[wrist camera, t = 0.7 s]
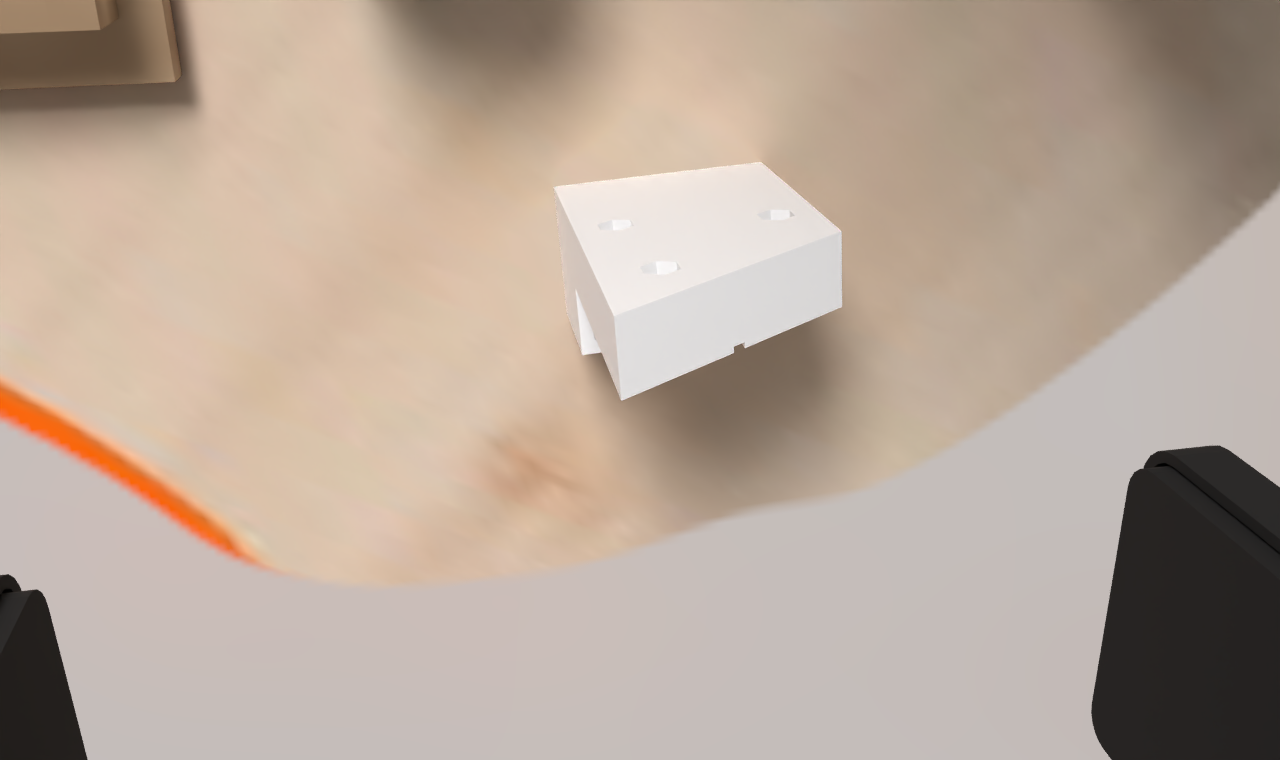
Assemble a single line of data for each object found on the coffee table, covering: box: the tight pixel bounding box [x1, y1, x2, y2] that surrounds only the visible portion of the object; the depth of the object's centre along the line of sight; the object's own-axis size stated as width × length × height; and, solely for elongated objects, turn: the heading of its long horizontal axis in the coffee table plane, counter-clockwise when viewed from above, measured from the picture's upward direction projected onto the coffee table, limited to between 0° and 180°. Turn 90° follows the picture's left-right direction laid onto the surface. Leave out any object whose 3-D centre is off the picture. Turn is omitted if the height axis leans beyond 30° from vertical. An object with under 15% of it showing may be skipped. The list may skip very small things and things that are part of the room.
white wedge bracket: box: [554, 162, 842, 401], centre depth 30 cm, size 4×10×9 cm, turn 94°
